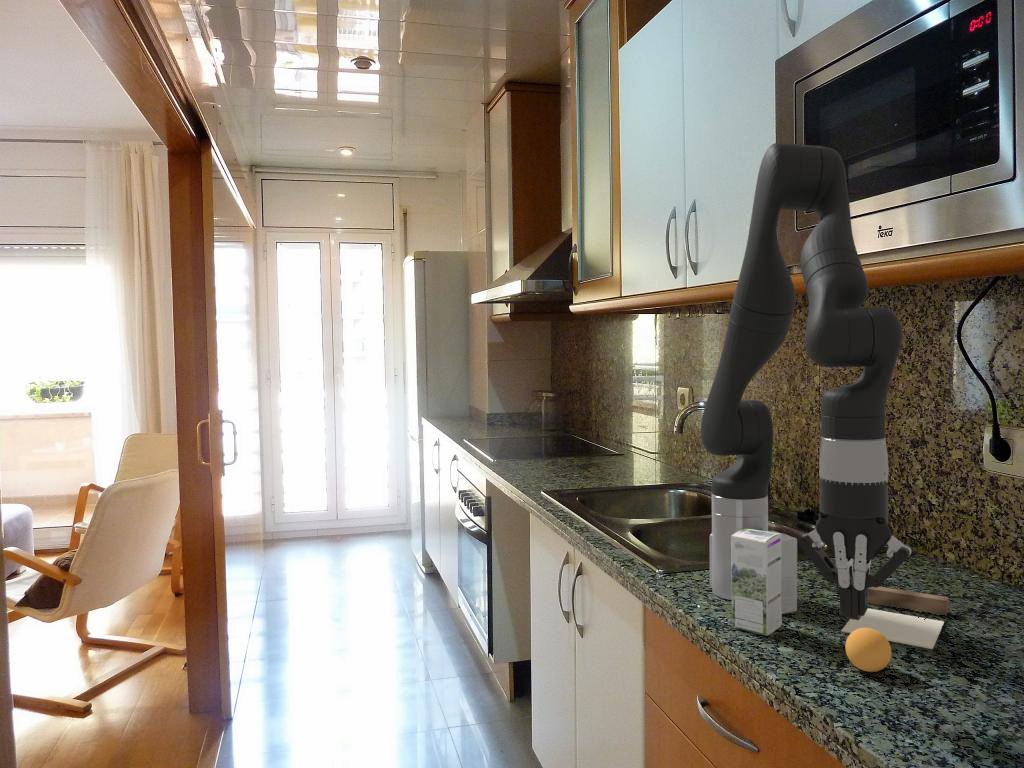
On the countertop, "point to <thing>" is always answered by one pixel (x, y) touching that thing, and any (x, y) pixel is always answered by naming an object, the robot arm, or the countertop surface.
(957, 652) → the countertop surface
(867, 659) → the ball
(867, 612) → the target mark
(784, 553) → the skincare box
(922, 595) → the stop rail
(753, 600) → the syrup box
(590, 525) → the countertop surface
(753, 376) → the robot arm
